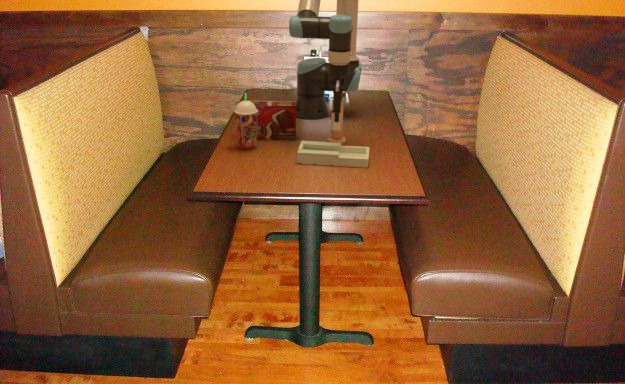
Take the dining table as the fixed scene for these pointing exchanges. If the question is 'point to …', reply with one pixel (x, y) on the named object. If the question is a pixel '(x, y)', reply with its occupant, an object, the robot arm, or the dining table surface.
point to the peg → (337, 134)
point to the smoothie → (246, 124)
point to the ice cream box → (276, 120)
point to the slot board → (343, 160)
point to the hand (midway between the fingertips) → (336, 127)
